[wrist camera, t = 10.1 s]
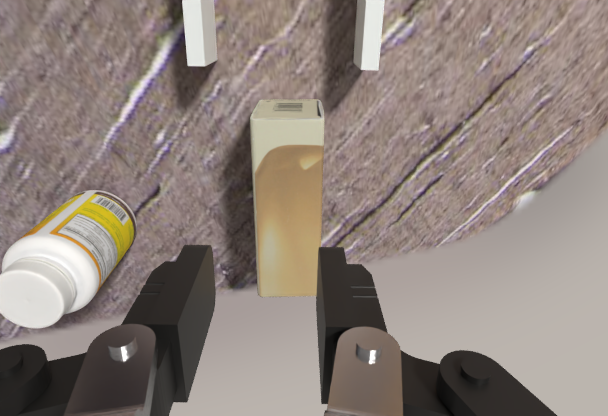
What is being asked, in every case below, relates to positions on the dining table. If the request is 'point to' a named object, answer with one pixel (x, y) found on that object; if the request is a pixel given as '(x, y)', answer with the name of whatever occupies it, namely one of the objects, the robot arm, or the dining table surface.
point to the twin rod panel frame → (204, 33)
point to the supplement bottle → (65, 259)
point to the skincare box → (287, 194)
